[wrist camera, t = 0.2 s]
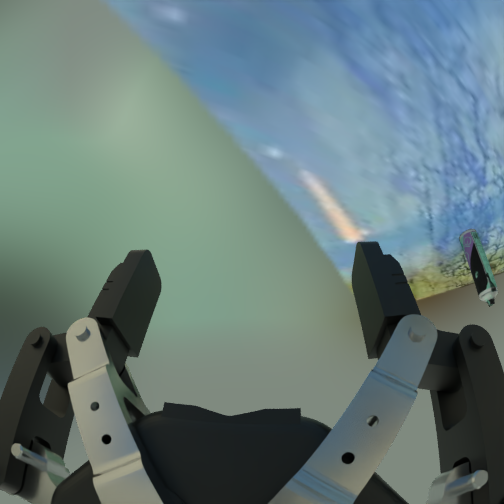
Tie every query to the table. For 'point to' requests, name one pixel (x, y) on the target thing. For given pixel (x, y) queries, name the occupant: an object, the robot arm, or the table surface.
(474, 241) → the spray can
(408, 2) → the table surface
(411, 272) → the table surface
